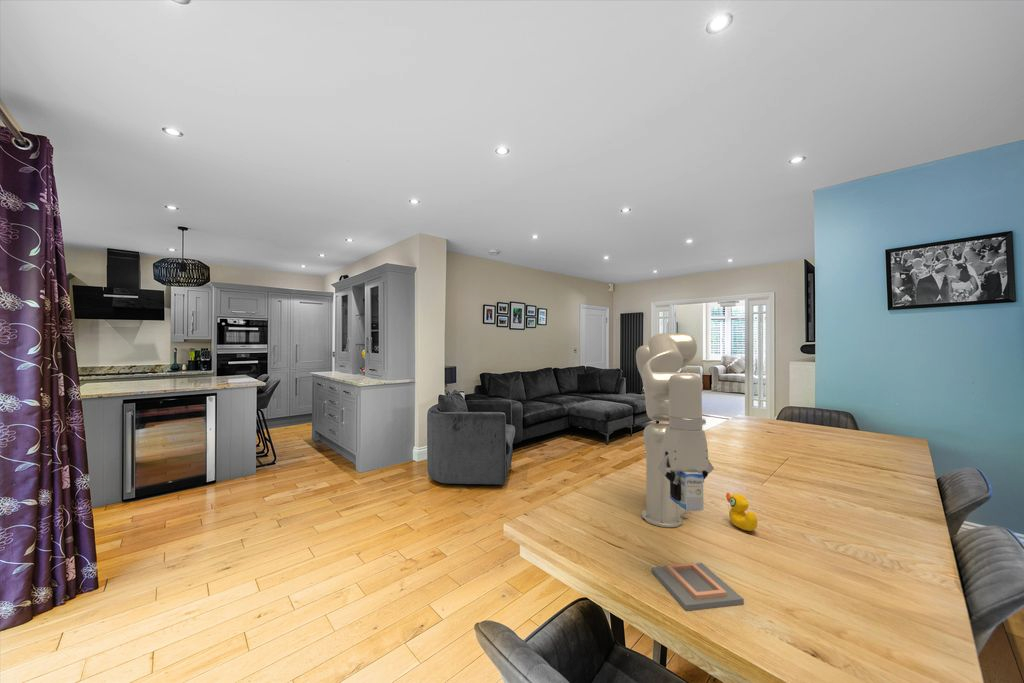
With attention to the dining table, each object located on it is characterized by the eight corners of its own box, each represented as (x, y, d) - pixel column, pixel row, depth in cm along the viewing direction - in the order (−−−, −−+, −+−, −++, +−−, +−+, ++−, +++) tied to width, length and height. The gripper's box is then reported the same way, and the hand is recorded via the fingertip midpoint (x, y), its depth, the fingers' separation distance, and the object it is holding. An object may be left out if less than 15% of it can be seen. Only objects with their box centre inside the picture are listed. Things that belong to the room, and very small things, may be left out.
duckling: (720, 519, 123) (719, 489, 123) (734, 518, 124) (734, 488, 124) (747, 536, 111) (746, 503, 112) (762, 535, 112) (762, 502, 113)
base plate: (701, 567, 95) (701, 558, 95) (743, 604, 81) (743, 594, 82) (651, 572, 93) (651, 563, 93) (686, 610, 79) (686, 600, 79)
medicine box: (669, 498, 94) (669, 464, 95) (686, 498, 95) (685, 464, 95) (686, 511, 86) (685, 474, 87) (704, 511, 87) (703, 473, 87)
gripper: (706, 421, 96) (707, 491, 95) (645, 422, 94) (646, 494, 93) (726, 426, 89) (728, 503, 88) (661, 427, 87) (662, 506, 86)
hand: (686, 497), depth 91 cm, fingers closed on medicine box, 4 cm apart
